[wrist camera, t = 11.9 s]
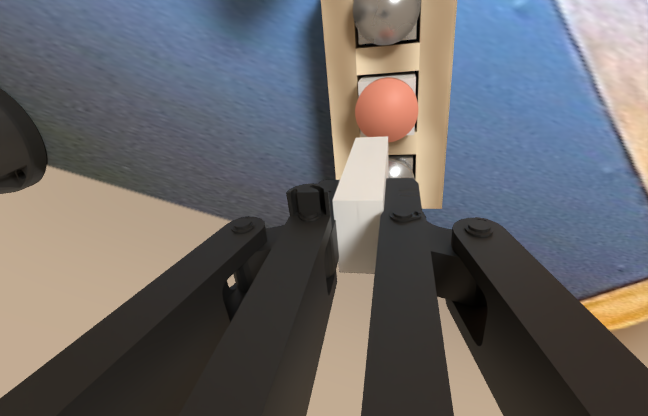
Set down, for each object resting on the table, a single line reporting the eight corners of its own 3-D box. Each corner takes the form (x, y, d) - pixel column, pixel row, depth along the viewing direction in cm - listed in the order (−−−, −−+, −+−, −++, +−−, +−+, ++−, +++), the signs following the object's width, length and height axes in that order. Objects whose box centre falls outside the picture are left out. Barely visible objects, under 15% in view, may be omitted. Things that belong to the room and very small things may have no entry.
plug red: (363, 125, 33) (356, 143, 28) (361, 72, 30) (353, 81, 25) (414, 122, 32) (417, 141, 26) (416, 68, 29) (419, 76, 24)
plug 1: (362, 44, 31) (354, 48, 26) (359, -18, 29) (351, -27, 24) (416, 39, 30) (419, 42, 25) (418, -26, 28) (422, -38, 23)
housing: (345, 187, 39) (338, 207, 34) (330, -21, 29) (318, -30, 25) (436, 186, 36) (441, 208, 32) (451, -39, 27) (460, -51, 23)
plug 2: (367, 184, 37) (362, 209, 32) (366, 142, 35) (360, 161, 30) (412, 183, 36) (414, 209, 31) (413, 140, 34) (415, 160, 29)
